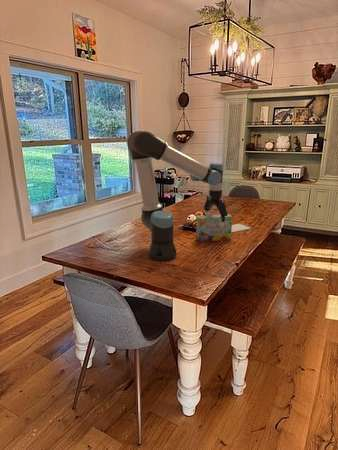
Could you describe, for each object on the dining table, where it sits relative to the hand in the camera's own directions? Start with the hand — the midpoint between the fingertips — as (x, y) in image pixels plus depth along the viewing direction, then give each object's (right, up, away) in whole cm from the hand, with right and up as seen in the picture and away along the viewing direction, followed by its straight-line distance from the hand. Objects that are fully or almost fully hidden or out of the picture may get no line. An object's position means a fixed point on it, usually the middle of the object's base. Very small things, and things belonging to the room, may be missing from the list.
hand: (214, 224), depth 192 cm
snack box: (0, -10, +3) cm, 10 cm away
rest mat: (+15, -3, +22) cm, 27 cm away
